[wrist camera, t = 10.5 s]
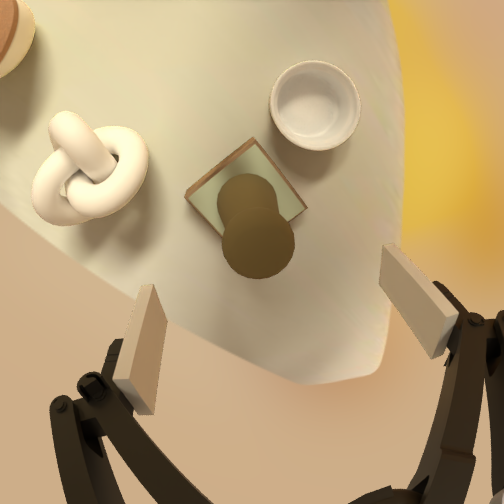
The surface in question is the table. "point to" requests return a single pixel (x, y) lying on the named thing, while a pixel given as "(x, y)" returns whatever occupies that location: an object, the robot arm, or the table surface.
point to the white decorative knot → (88, 171)
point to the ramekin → (315, 105)
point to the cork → (253, 227)
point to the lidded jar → (14, 33)
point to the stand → (239, 162)
